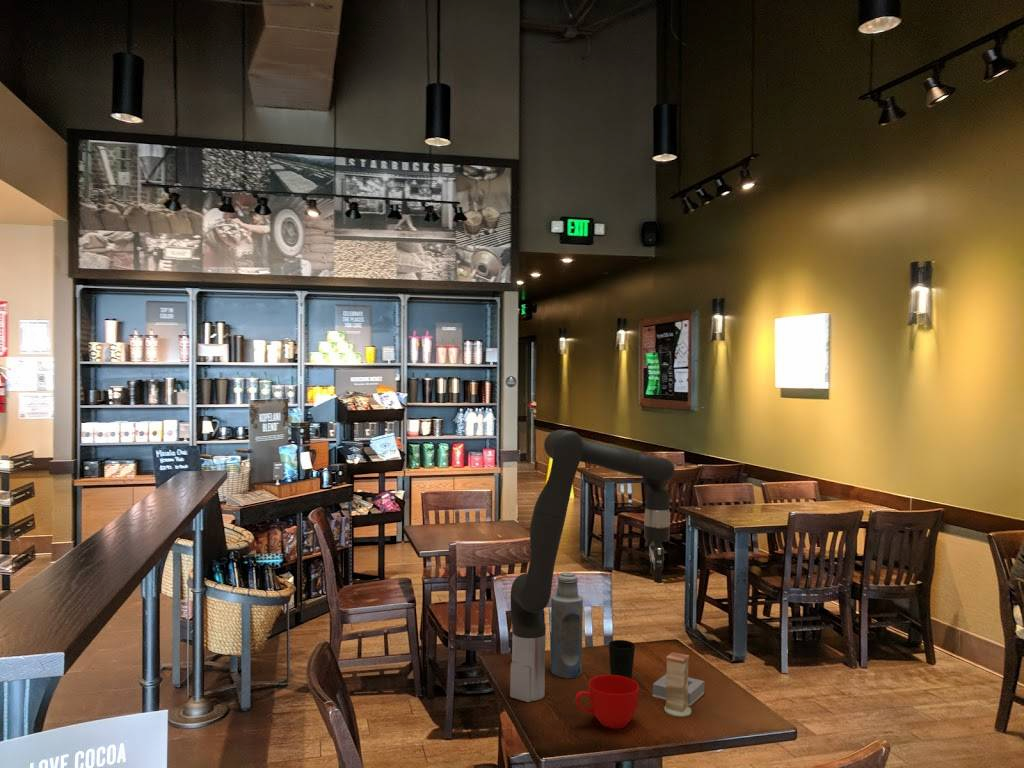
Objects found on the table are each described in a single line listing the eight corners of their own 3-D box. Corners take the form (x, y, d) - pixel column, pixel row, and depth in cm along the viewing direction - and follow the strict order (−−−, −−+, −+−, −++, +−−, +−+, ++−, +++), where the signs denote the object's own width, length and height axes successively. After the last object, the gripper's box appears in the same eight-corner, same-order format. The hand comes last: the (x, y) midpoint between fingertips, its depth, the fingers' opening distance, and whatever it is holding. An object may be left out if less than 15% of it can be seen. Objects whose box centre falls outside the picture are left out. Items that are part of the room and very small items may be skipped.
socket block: (690, 706, 203) (690, 693, 203) (652, 696, 209) (652, 684, 209) (704, 693, 212) (704, 681, 212) (667, 683, 218) (668, 672, 218)
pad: (685, 719, 194) (685, 716, 194) (660, 712, 198) (660, 710, 198) (695, 710, 200) (695, 707, 200) (670, 703, 204) (670, 701, 204)
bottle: (555, 679, 219) (557, 578, 220) (546, 667, 229) (548, 570, 229) (586, 677, 222) (588, 576, 222) (575, 665, 231) (577, 569, 232)
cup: (633, 692, 212) (634, 649, 212) (606, 689, 213) (607, 647, 213) (634, 681, 219) (635, 641, 219) (608, 679, 221) (609, 638, 221)
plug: (682, 713, 197) (683, 660, 197) (665, 708, 199) (666, 657, 199) (688, 706, 201) (689, 655, 201) (671, 702, 203) (671, 651, 204)
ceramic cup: (566, 716, 195) (567, 678, 195) (625, 710, 199) (626, 672, 200) (584, 739, 182) (585, 698, 182) (647, 731, 187) (648, 691, 187)
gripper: (642, 519, 229) (641, 572, 229) (646, 528, 215) (645, 584, 214) (666, 520, 228) (665, 573, 228) (673, 528, 214) (672, 585, 214)
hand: (656, 578), depth 221 cm, fingers open, 8 cm apart
